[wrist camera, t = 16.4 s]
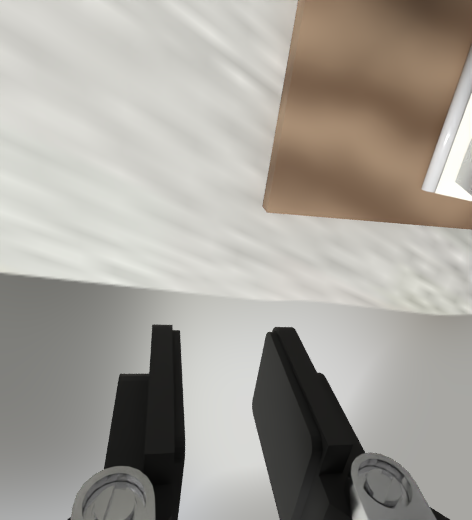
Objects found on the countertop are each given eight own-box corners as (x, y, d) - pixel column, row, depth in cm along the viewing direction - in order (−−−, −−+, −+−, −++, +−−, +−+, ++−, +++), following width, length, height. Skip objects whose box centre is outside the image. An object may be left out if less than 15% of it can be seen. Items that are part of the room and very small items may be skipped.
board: (306, -49, 23) (315, -57, 21) (614, 23, 28) (637, 21, 26) (262, 206, 29) (266, 212, 28) (517, 228, 34) (531, 234, 33)
